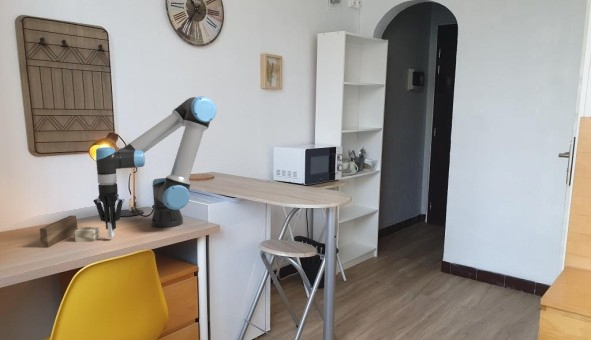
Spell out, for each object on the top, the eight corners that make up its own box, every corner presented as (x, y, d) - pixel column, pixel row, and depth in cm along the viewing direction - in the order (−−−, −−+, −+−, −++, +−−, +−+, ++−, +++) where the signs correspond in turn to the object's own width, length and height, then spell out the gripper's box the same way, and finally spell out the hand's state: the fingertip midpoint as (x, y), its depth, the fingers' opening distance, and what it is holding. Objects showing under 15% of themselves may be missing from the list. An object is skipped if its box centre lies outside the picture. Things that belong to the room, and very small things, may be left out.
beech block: (100, 237, 193) (99, 226, 192) (94, 241, 187) (93, 230, 186) (82, 238, 193) (81, 227, 192) (75, 242, 187) (74, 231, 186)
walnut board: (77, 232, 201) (76, 215, 200) (48, 247, 180) (46, 228, 179) (71, 232, 202) (69, 215, 201) (41, 247, 180) (39, 228, 179)
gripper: (126, 181, 189) (129, 234, 192) (97, 181, 190) (101, 233, 193) (118, 184, 182) (122, 239, 185) (88, 184, 182) (92, 239, 186)
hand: (111, 236), depth 189 cm, fingers closed
